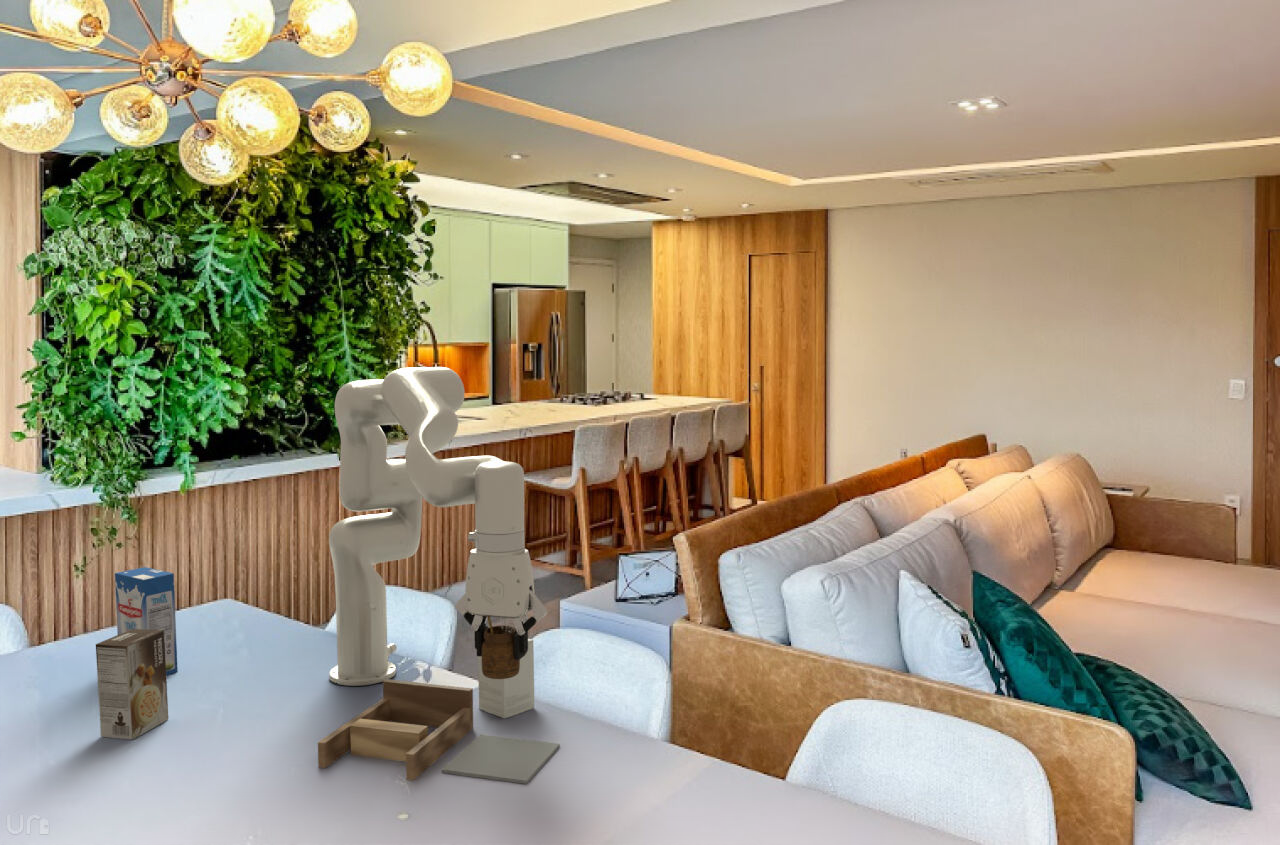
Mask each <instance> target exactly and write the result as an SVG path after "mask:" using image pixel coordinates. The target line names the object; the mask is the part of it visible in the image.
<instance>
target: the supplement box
mask: <svg viewBox="0 0 1280 845" xmlns="http://www.w3.org/2000/svg"><path fill="white" fill-rule="evenodd" d="M534 653H535V652H534V639H531V638H528V651H527V653H526V654H525V656H524V657H522V658H521V659H520V669H519V673H518V674H517V675H516V676H514V677H511V678H507V679H491V678H488V677H485V676H484V675H483V672H482V656H477V666H478V667H477V670H478V672H477V673H478V674H477V676H478V709H479V710H481V711H484V712H486V713H489V714H492V715H493V716H497V717H499V718H502V719H508V718H510V717H513V716H516V715H518V714H521V713H524V712H527V711H531V710H533V709H534V708H535V671H534V670H535V667H534V666H535V663H534V661H535V660H534V659H535V658H534Z"/></svg>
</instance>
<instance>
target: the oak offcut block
mask: <svg viewBox="0 0 1280 845" xmlns="http://www.w3.org/2000/svg"><path fill="white" fill-rule="evenodd" d="M428 727H429V726H424V725H415V724H407V723H399V722H391V721H390V722H386V721H377V720H368V719H359V720H357V721H356V722H355V723H353V724H352V725H350V738H351V750H350V755H351V756H359V757H365V758H375V759H380V760H390V761H398V762H406V753H407V752H409V751H410V750H411V749H412V748H414V747H415V746H416V745H417V744H419V743H420V742H421V741H422V740H424V739H425V738H426V737H427V736H429V732H428V730H429V729H428Z"/></svg>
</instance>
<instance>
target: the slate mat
mask: <svg viewBox="0 0 1280 845" xmlns="http://www.w3.org/2000/svg"><path fill="white" fill-rule="evenodd" d="M560 746H561V745H560V743H555V742H548V741H540V740H531V739H524V738H523V739H522V738H516V737H514V738H513V737H508V736H507V737H505V736H498V735H490V734H481V733H480V734H479V735H478V736H477V737H476V738H475V739H474V740H472V741H471V742H470V743H469V744H468V745H467V746H466V747H464V749H462V750H461V752H459V753H458V754H457V755H456V756H455V757H454V758H453V759H451V760H450V761H449V762H448V763H447V764H446V765H445V766H443V767H442V768H441V773H443V774H450V775H456V776H457V775H459V776H465V777H473V778H478V779H479V778H481V779H488V780H496V781H502V782H510V783H519V784H524V785H525V784H526V785H527V784H528V783H529V782H530V781H531V780H532V779H533V777H534V776H535V775H537V773H538V772H539V771H540V770H541V769H542V767H543V766H544V765H545V764H546V763H547V761H549V760H550V758H551V757H552V756H553V755H554V754H555V753H556V751H557V750H559V748H560Z"/></svg>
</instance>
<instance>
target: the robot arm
mask: <svg viewBox="0 0 1280 845" xmlns="http://www.w3.org/2000/svg"><path fill="white" fill-rule="evenodd" d="M465 396H466V395H465V387H464V383H463V381H462V379H461V377H460V376H459V374H458V373H457V372H455V371H454V370H453V369H451V368H449V367H444V366H434V367H433V366H432V367H431V366H430V367H428V366H427V367H425V366H424V367H421V366H420V367H403V368H397V369H396V370H393V371H391V372H389V373H388V374H387V375H386V376H385V377H384V379H383V378H382V379H379V378H378V379H361V380H355V381H350V382H348V383H345V384H343V385H341V387H340V388H339V389H338V391H337V393H336V396H335V400H334V415H335V421H336V424H337V427H338V432H339V436H340V457H339V459H340V461H339V482H338V483H339V486H338V487H339V490H338V491H339V498H340V503H341V505H342V507H344V508H345V510H348V511H351V512H369V511H377V510H378V511H380V510H389V509H391V512H384V513H375V514H374V513H373V514H365V515H364V514H363V515H358V516H357V515H356V516H351V517H346V518H344V519H341V520H338V522H336V523H335V524H334V525H333V526H332V528H330V530H329V533H328V534H329V535H328V543H329V544H328V545H329V550H330V555H331V559H332V560H331V561H332V565H333V574H334V586H335V587H334V589H335V615H336V616H335V617H336V622H335V624H336V651H337V652H336V653H337V654H336V656H337V657H336V658H337V665H336V666H334V667H333V668H331V670H330V671H329V680H330V681H331V682H333V683H335V684H336V683H337V685H342V686H348V687H349V686H351V687H357V686H358V687H361V686H362V687H363V686H370V685H375V684H379V683H383V681H384V680H386V679H390V680H391V679H392V678H393V677H394V676H395V675H396V674H397V673H396V672H397V666H396V665H395V664H394V663H393V662H390V661H389V657H390V655H392V654H393V653H395V652H396V651H397V649H398V648H397V645H396V644H395V643H392V642H391V643H389V644H388V621H387V620H388V614H387V611H388V610H387V609H388V606H387V587H386V584H385V581H384V579H383V578H382V576H381V575H380V574H379V573H378V572H377V571H376V569H375V567H374V565H376V564H380V563H386V562H392V561H393V562H394V561H400V560H404V559H407V558H411V557H413V556H414V555H415V554H416V553H417V552H418V549H419V546H420V542H421V534H422V533H421V532H422V517H423V516H422V515H423V500H425V501H426V502H427V503H429V505H431V506H434V507H437V508H447V507H455V506H465V505H471V504H472V505H475V506H474V508H475V510H474V511H475V512H474V514H475V515H474V516H475V519H474V520H475V521H474V522H475V530H474V532H469V533H468V535H467V541H468V542H472V543H474V548H473V549H471V550H470V552H469V557H468V562H467V563H468V564H467V567H466V568H467V569H466V578H465V579H466V580H465V593H464V594H463V595H462V596H461V597H460V599H459V600H458V601H457V602H456V603H455V605H454V607H455V609H456V611H458V612H459V613H460V614H461V616H463V618H464V620H465V621H466V622H467V623H468V624H469V625H470V628H471V630H472V631H473V632H474V648H475V650H476V656H477V657H478V656H482V644H483V642H484V640H485V639H484V631H485V629H487V628H489V625H487V624H486V623H487V622H488V621H487V620H488V617H486V616H490V618H491V617H493V618H501V619H505V618H506V619H512V620H513V621H512V622H513V623H514V624H515V625H514V628H516V630H517V634H516V635H514V659H515V660H520V659H521V658H522V657H524V656H525V654H526V653H527V651H528V639H529V631H530V630H531V629H532V628H533V627H534V626H535V625H536V624H537V623H538V622H539V621H540V620H541V619H542V618H544V617H545V616H546V615H547V614H548V612H549V611H548V609H547V608H546V607H545V605H544V604H543V602H542V601H541V600H540V599H539V598H538V596H536V594H535V583H534V574H533V567H532V561H531V557H530V552H529V549H526V546H525V543H526V542H525V538H526V537H525V472H524V468H523V467H522V465H520V464H519V463H517V462H515V461H514V462H512V461H504V460H503V459H501V458H499V457H497V456H493V455H477V456H464V457H451V458H443V459H439V458H437V457H436V456H435V455H434V454H435V453H436V452H437V451H439V450H441V449H442V448H444V447H445V446H447V445H448V444H449V443H450V442H451V441H452V440H453V439H454V437H455V436H456V434H457V432H458V429H459V418H458V416H457V414H456V412H457V411H459V410H460V408H461V407H462V406H463V404H464V400H465ZM388 425H389V426H392V425H393V426H394V425H395V426H397V425H400V426H401V427H402V429H403V430H404V432H405V433H406V434H407V436H408V440H407V442H406V445H405V451H404V458H394V459H387V456H388V455H387V453H388V451H387V450H388V440H387V436H386V434H385V432H384V431H383V429H382V427H381V426H388ZM532 610H534V612H533V614H532V615H531V616H530V617H528V613H527V612H530V611H532Z"/></svg>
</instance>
